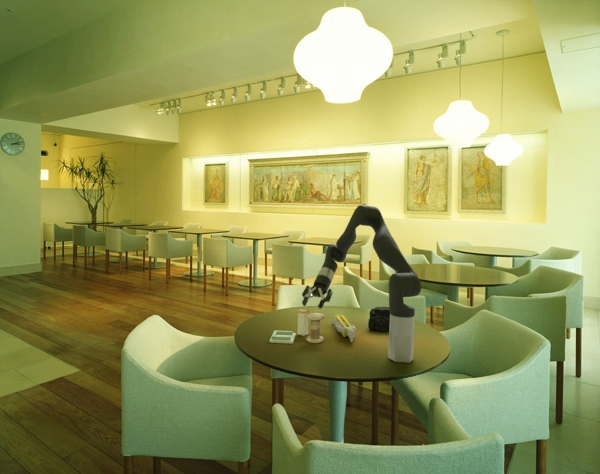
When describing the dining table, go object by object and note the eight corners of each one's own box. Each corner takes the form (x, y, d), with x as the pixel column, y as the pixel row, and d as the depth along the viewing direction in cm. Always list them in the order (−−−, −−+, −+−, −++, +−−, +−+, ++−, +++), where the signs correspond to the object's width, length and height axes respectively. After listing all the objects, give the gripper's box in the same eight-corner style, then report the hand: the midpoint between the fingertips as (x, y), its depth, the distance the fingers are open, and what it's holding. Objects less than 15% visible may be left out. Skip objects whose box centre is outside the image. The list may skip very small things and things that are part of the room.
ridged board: (292, 343, 176) (293, 338, 176) (269, 342, 177) (269, 337, 177) (295, 335, 188) (295, 330, 188) (273, 334, 189) (273, 329, 189)
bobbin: (323, 343, 177) (324, 318, 176) (305, 342, 178) (306, 317, 177) (324, 337, 185) (324, 313, 184) (306, 337, 185) (307, 312, 185)
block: (308, 333, 190) (308, 310, 190) (304, 335, 187) (304, 311, 187) (301, 332, 192) (302, 308, 192) (297, 334, 189) (297, 310, 189)
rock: (370, 323, 211) (367, 331, 196) (371, 304, 210) (368, 310, 196) (406, 326, 206) (406, 334, 192) (407, 306, 206) (406, 313, 191)
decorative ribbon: (346, 314, 208) (361, 331, 178) (344, 325, 208) (359, 345, 178) (331, 312, 207) (343, 329, 177) (329, 323, 207) (341, 342, 177)
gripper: (309, 272, 205) (295, 299, 196) (334, 275, 197) (321, 304, 188) (314, 281, 210) (301, 308, 201) (339, 285, 202) (327, 313, 193)
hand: (311, 306), depth 195 cm, fingers open, 8 cm apart
